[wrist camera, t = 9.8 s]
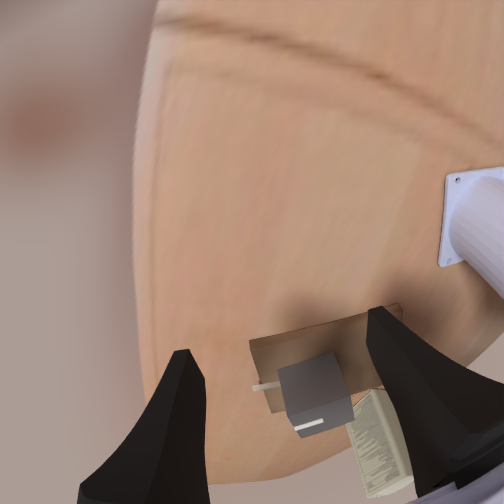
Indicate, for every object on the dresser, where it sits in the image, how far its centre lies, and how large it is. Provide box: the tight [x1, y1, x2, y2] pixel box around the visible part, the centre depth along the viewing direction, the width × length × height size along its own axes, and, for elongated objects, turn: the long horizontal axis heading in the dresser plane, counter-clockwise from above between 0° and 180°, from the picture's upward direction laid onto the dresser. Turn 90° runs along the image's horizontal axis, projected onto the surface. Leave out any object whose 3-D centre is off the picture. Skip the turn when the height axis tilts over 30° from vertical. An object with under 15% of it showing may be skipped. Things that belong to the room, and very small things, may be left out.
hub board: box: [249, 303, 403, 413], centre depth 26 cm, size 14×11×4 cm
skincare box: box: [345, 389, 414, 499], centre depth 27 cm, size 6×4×12 cm
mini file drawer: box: [277, 351, 355, 438], centre depth 24 cm, size 5×5×5 cm
